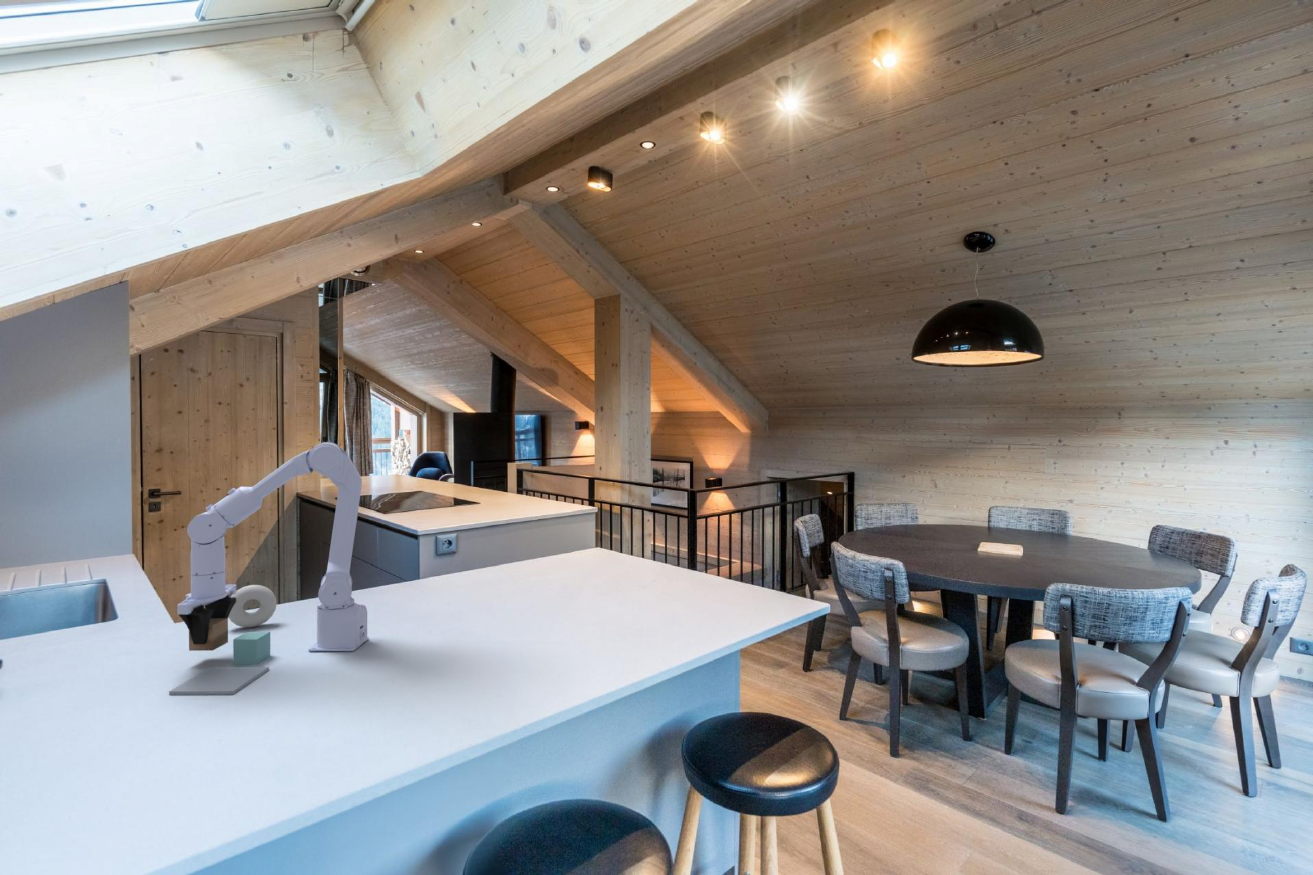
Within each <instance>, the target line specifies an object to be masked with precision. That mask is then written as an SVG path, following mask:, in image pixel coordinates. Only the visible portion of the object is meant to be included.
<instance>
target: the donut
mask: <svg viewBox="0 0 1313 875" xmlns="http://www.w3.org/2000/svg"><path fill="white" fill-rule="evenodd" d="M230 597H235V598H236V603H235V604H234V606H233V608H232V610H231V612H230V614H229V617H228V620H230V622H232V623H233V624H234V625H236V626H237V627H238V626H239V627H241V628H255V627H259V626H261V625H263V624H265V623H266V622H268V621H269V620H270V619H271V618H272V617H273V615H274V613H275V611H276V609H277V604H278V603H277V597H276V595H275V594H274V592H273V591H272V590H271V589H270V588H269V587H267V586H264V585H261V584H250V585H249V584H248V585H246V586H243V587H240V588H239V589H236V594H234V595H230ZM250 600H256V601H257V602H259V605H260V606H259V608H258V609H257V610H256V611H253V612H249V611H248V612H247V611H246V610H245V609H244V605H245V603H247V602H248V601H250Z"/></svg>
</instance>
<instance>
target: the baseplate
mask: <svg viewBox="0 0 1313 875" xmlns="http://www.w3.org/2000/svg"><path fill="white" fill-rule="evenodd" d="M268 671H270V667H269V666H210V667H209V668H207V669H205V670H204V671H202V672H200V673H199V674H197V675H194V676H193V677H192V678H190V679H188V680H187V681H185V682H183V683H182V684H179V685H178V686H176V687H174V688H173V689H171V690H169V691H168V695H170V696H175V695H178V696H179V695H180V696H183V695H185V696H186V695H188V696H189V695H190V696H191V695H192V696H195V695H198V696H201V695H202V696H203V695H206V696H207V695H211V696H215V695H217V696H218V695H219V696H221V695H222V696H223V695H224V696H225V695H230V696H231V695H232V696H233V695H235V694H236V693H238V692H239V691H240V690H242V689H244V688H245V687H246V686H248V685H249V684H251V683H252V682H254V681H255V680H257V679H258V678H259V677H261V676H262V675H264V674H266V673H267V672H268Z"/></svg>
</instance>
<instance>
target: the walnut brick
mask: <svg viewBox="0 0 1313 875" xmlns="http://www.w3.org/2000/svg"><path fill="white" fill-rule="evenodd" d="M227 643H229V617H228V618H211V619H210V623H209V629H208V638H207V642H206V644H193V641H192V638H191V635H190V632H189V631H188V651H193V652H194V651H195V652H196V651H197V652H199V651H201V652H202V651H205V652H206V651H211V652H212V651H215V650H217V649H219V648H220V647H222V646H224V645H225V644H227Z"/></svg>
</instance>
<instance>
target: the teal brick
mask: <svg viewBox="0 0 1313 875" xmlns="http://www.w3.org/2000/svg"><path fill="white" fill-rule="evenodd" d="M232 645H233V646H232V648H233V652H232V654H233V655H232V656H233V657H232V658H233V659H232V660H233V665H238V664H239V665H249V664H250V665H258V664H259V663H260V662H262V661H264V660H266V659H267V658H269V657H270V656H271V631H247V632H244V633H243V634H240V635H239V636H237V637H235V638H234V639H233V640H232Z"/></svg>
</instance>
